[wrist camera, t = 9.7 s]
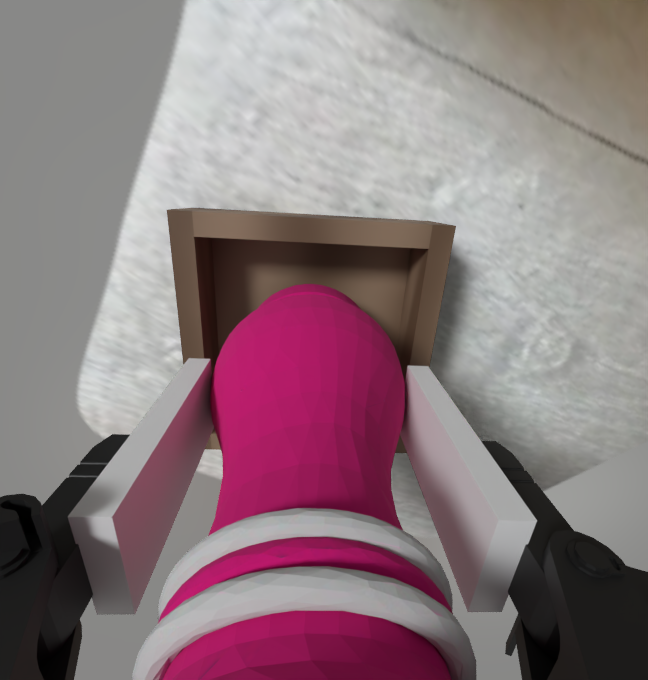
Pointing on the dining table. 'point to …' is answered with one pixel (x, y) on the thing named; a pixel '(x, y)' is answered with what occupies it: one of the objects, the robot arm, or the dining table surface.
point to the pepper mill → (307, 517)
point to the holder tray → (306, 273)
